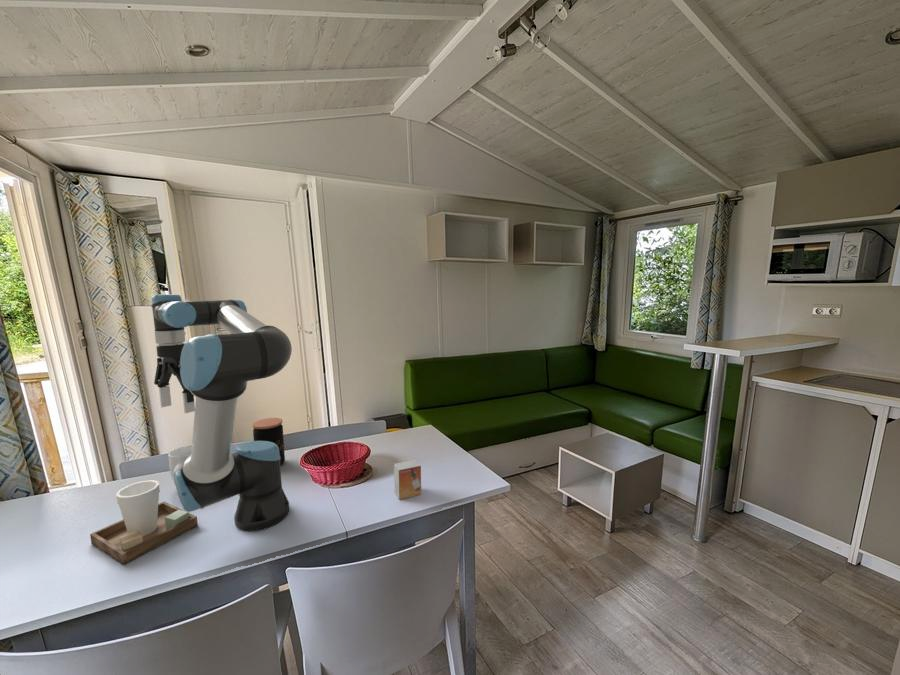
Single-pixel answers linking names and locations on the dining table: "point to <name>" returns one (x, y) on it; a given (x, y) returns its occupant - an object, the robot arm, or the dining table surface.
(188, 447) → the mug
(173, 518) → the block
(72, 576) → the dining table surface
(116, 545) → the tray
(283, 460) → the coffee jar
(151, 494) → the foam cup
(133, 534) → the block
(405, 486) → the small box
